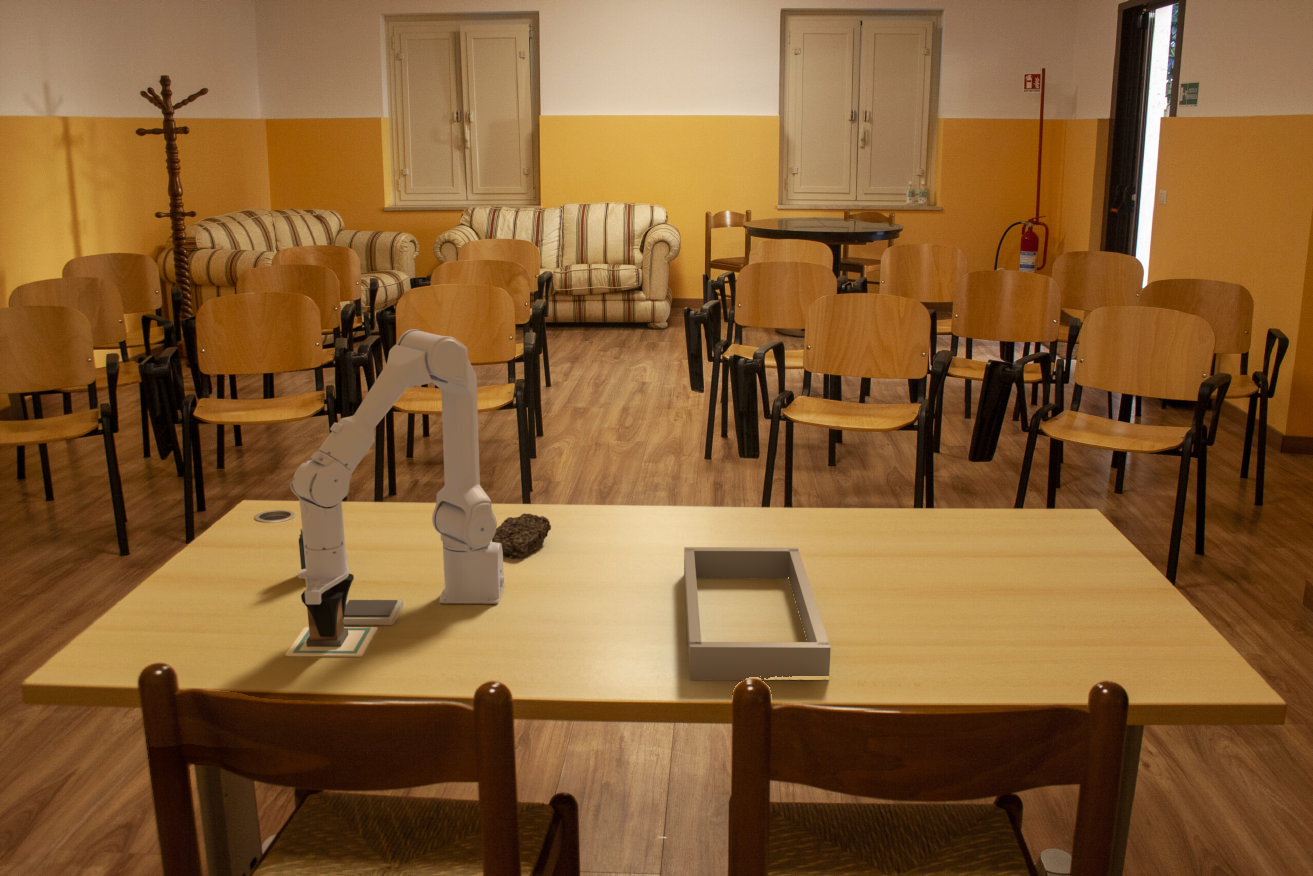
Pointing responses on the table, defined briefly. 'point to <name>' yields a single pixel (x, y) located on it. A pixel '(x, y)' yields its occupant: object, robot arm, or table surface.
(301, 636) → the print sheet
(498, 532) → the dark brown rock
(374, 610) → the ink pad
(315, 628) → the stamp
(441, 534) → the robot arm
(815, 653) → the open rectangular frame
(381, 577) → the table surface
